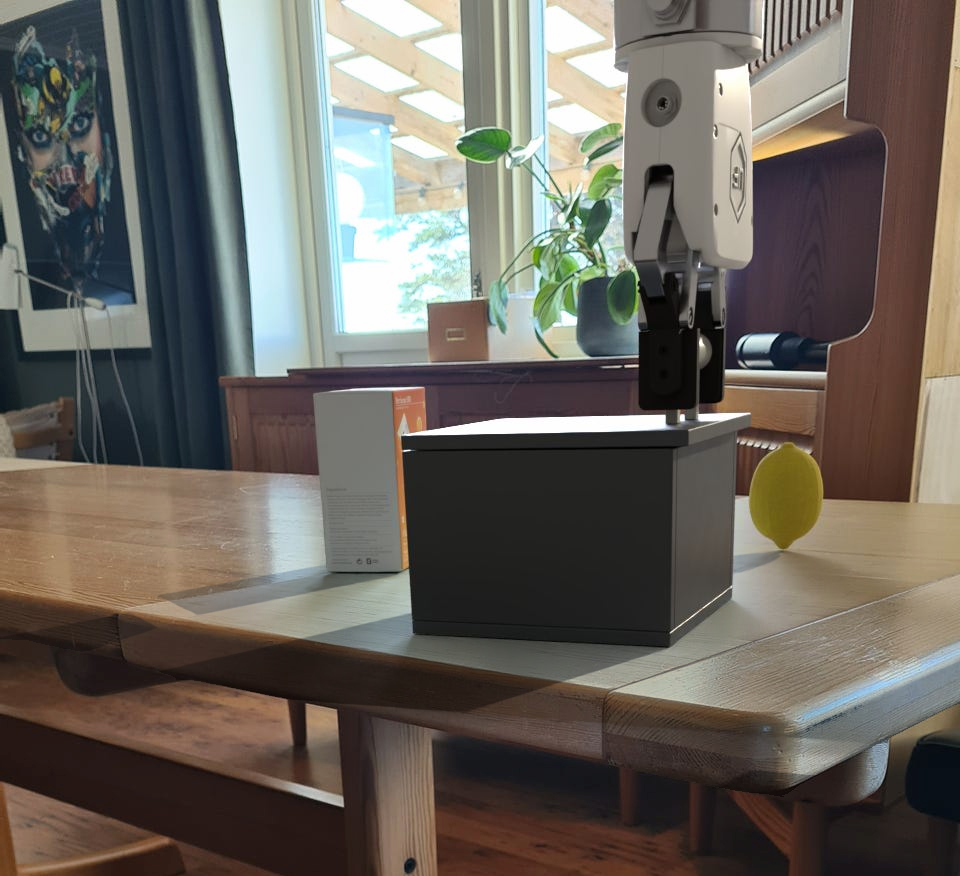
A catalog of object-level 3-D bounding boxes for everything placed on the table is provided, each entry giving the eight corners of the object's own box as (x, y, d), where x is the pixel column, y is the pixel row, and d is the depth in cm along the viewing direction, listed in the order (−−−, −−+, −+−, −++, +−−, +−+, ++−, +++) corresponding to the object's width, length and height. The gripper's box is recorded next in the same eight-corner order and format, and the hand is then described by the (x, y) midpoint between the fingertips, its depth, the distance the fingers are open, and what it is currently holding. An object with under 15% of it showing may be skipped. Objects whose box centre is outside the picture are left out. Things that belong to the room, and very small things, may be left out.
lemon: (745, 555, 98) (749, 445, 95) (749, 544, 103) (752, 440, 100) (820, 554, 96) (826, 443, 94) (820, 544, 101) (826, 438, 99)
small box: (403, 573, 96) (392, 389, 91) (324, 573, 98) (309, 392, 93) (435, 556, 103) (426, 385, 99) (361, 556, 105) (349, 387, 100)
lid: (751, 426, 78) (753, 330, 76) (688, 446, 65) (690, 332, 63) (501, 431, 84) (498, 343, 82) (401, 450, 72) (394, 346, 70)
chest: (732, 598, 82) (737, 428, 78) (670, 647, 69) (673, 448, 66) (506, 590, 88) (501, 432, 84) (412, 634, 75) (401, 451, 72)
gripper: (720, -21, 56) (711, 414, 63) (794, 49, 71) (780, 397, 78) (560, 4, 59) (567, 417, 66) (662, 66, 74) (659, 400, 80)
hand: (682, 402), depth 72 cm, fingers closed on lid, 5 cm apart
